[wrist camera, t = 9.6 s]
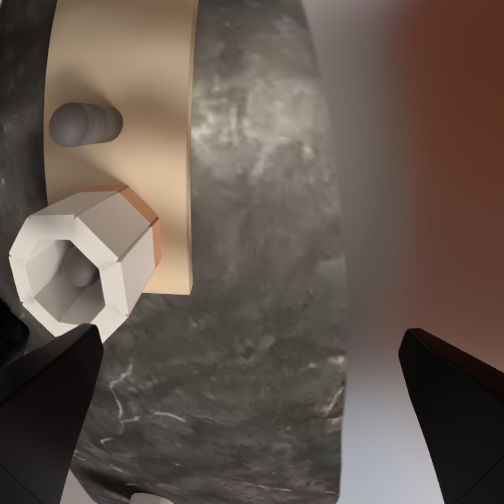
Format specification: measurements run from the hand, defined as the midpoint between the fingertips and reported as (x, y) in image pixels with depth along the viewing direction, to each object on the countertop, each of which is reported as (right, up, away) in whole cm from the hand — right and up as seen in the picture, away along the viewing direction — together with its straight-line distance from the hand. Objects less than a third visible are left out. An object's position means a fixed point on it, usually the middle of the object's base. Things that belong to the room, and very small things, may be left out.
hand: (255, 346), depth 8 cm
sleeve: (-8, +3, +9) cm, 12 cm away
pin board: (-8, +10, +8) cm, 15 cm away
